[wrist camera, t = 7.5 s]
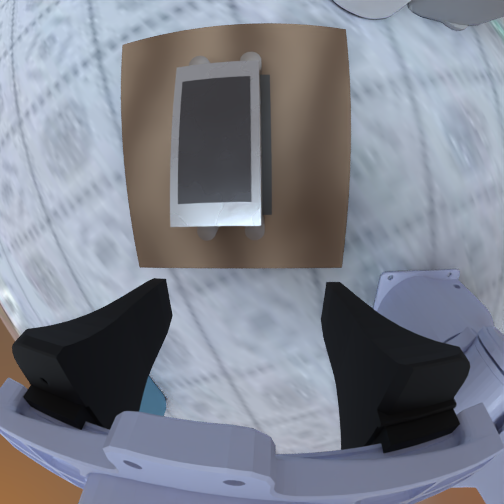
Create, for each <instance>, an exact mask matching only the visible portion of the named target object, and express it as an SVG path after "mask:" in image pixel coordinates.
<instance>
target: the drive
mask: <svg viewBox="0 0 504 504" xmlns="http://www.w3.org/2000/svg"><path fill="white" fill-rule="evenodd" d="M261 225H262V147H261V97H260V77H259V60H253V61H231V62H218V63H208V64H199V65H191V66H184V67H178V68H177V70H176V80H175V91H174V102H173V116H172V134H171V159H170V227H196V226H261Z"/></svg>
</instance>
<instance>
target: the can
mask: <svg viewBox="0 0 504 504" xmlns="http://www.w3.org/2000/svg"><path fill="white" fill-rule="evenodd" d="M333 1H334V2H335V3H337V4H338V5H339V6H341V7H342V8H344V9H345V10H347V11H349V12H351V13H353V14H356V15H358V16H361V17H364V18H369V19H382V18H387V17H389V16H391V15H393V14H394V13H396V12H397V11H398V10H399V9H401V8H402V7H403V6H405V5H406V4H407V3H409V2H410V1H411V0H333Z"/></svg>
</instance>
